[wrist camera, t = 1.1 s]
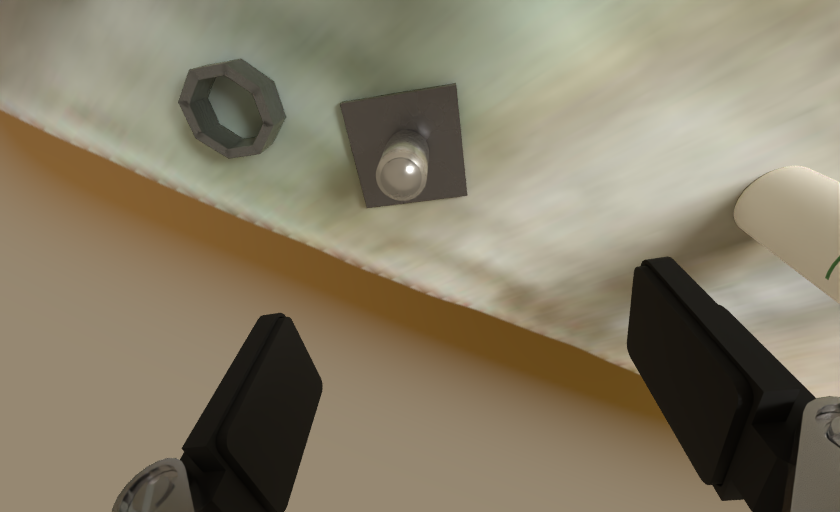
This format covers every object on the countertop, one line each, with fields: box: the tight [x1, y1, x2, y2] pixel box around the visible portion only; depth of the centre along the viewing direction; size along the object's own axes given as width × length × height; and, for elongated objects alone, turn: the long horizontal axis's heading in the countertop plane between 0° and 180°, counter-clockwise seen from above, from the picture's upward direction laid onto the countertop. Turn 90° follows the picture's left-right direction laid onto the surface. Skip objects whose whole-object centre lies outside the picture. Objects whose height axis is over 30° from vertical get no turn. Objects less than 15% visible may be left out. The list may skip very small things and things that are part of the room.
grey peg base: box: [340, 83, 467, 208], centre depth 33 cm, size 10×10×7 cm
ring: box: [178, 59, 286, 159], centre depth 33 cm, size 7×7×3 cm
